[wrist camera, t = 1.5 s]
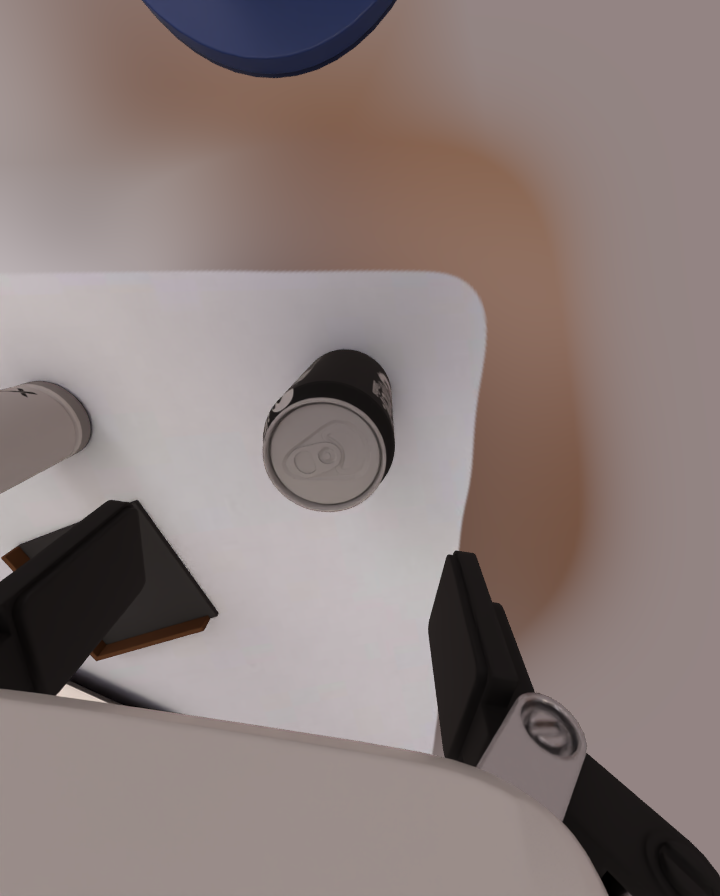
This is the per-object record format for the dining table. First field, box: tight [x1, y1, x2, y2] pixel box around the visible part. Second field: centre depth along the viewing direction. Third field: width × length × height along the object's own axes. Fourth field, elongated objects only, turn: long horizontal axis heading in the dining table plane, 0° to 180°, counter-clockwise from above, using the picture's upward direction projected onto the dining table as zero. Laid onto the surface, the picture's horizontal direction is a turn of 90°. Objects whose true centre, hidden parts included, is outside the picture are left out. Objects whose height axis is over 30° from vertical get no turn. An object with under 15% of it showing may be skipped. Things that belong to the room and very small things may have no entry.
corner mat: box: [1, 500, 218, 661], centre depth 36 cm, size 14×14×2 cm
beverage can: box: [263, 350, 395, 512], centre depth 23 cm, size 7×7×12 cm
